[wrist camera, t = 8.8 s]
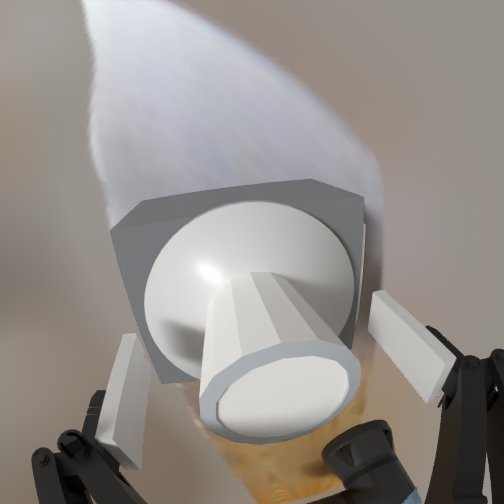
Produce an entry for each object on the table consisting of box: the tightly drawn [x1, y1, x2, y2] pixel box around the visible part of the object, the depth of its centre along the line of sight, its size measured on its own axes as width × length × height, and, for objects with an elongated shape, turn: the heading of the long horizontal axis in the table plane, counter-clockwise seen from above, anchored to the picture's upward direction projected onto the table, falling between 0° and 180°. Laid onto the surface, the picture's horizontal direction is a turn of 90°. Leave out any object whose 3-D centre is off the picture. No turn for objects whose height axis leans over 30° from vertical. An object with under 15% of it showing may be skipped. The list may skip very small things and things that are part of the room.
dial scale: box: [110, 179, 366, 384], centre depth 21 cm, size 13×16×10 cm
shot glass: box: [199, 272, 361, 444], centre depth 13 cm, size 7×7×7 cm
